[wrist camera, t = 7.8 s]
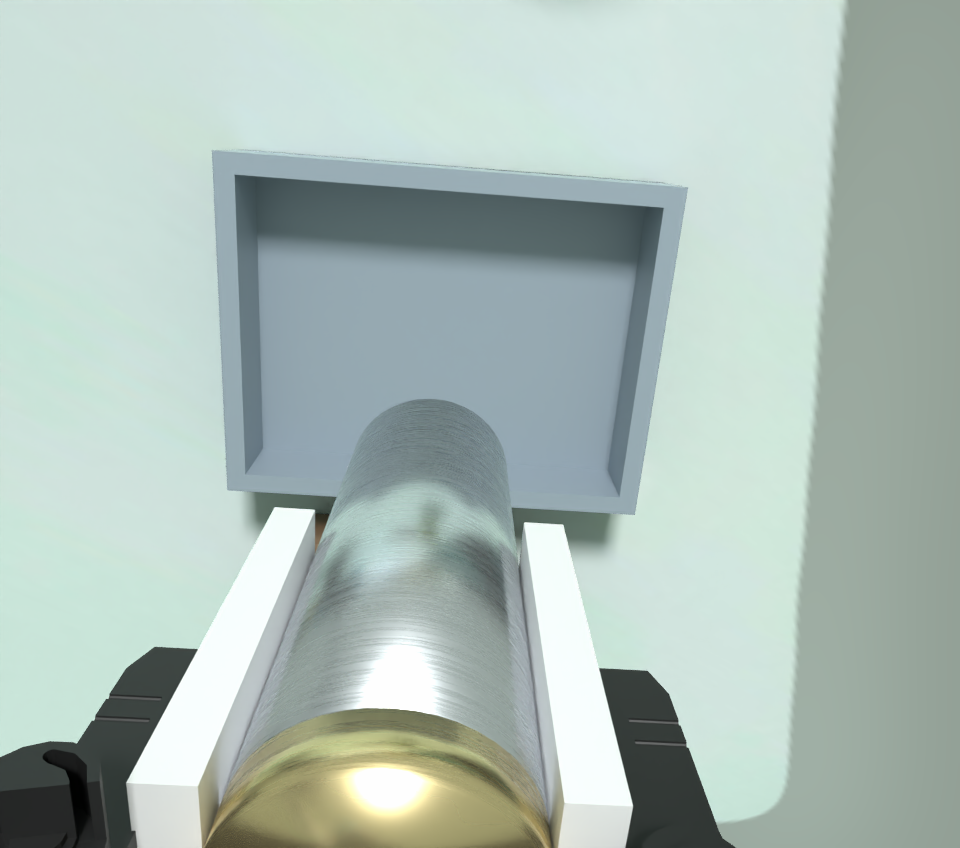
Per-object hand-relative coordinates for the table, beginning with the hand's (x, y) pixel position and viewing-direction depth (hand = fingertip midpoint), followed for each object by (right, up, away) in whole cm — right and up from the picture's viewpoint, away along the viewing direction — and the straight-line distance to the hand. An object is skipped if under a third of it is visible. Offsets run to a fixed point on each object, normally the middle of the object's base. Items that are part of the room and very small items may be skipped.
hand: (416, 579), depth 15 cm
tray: (0, +7, +20) cm, 21 cm away
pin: (0, +2, +5) cm, 5 cm away
